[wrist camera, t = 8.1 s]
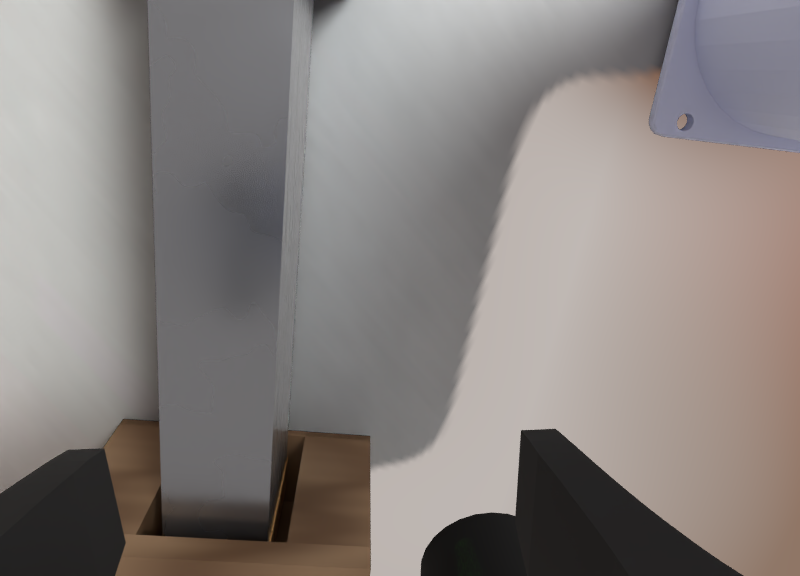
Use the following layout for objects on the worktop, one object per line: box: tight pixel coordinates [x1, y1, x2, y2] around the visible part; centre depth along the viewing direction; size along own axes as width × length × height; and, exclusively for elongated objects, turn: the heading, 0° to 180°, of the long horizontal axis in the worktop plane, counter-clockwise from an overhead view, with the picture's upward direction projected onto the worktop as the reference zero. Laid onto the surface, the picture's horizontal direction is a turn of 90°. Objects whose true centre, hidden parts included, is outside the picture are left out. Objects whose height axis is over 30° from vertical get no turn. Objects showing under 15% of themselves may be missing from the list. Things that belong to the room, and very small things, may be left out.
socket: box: [103, 419, 371, 576], centre depth 20 cm, size 9×4×6 cm, turn 83°
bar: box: [147, 0, 314, 542], centre depth 17 cm, size 3×18×5 cm, turn 173°
